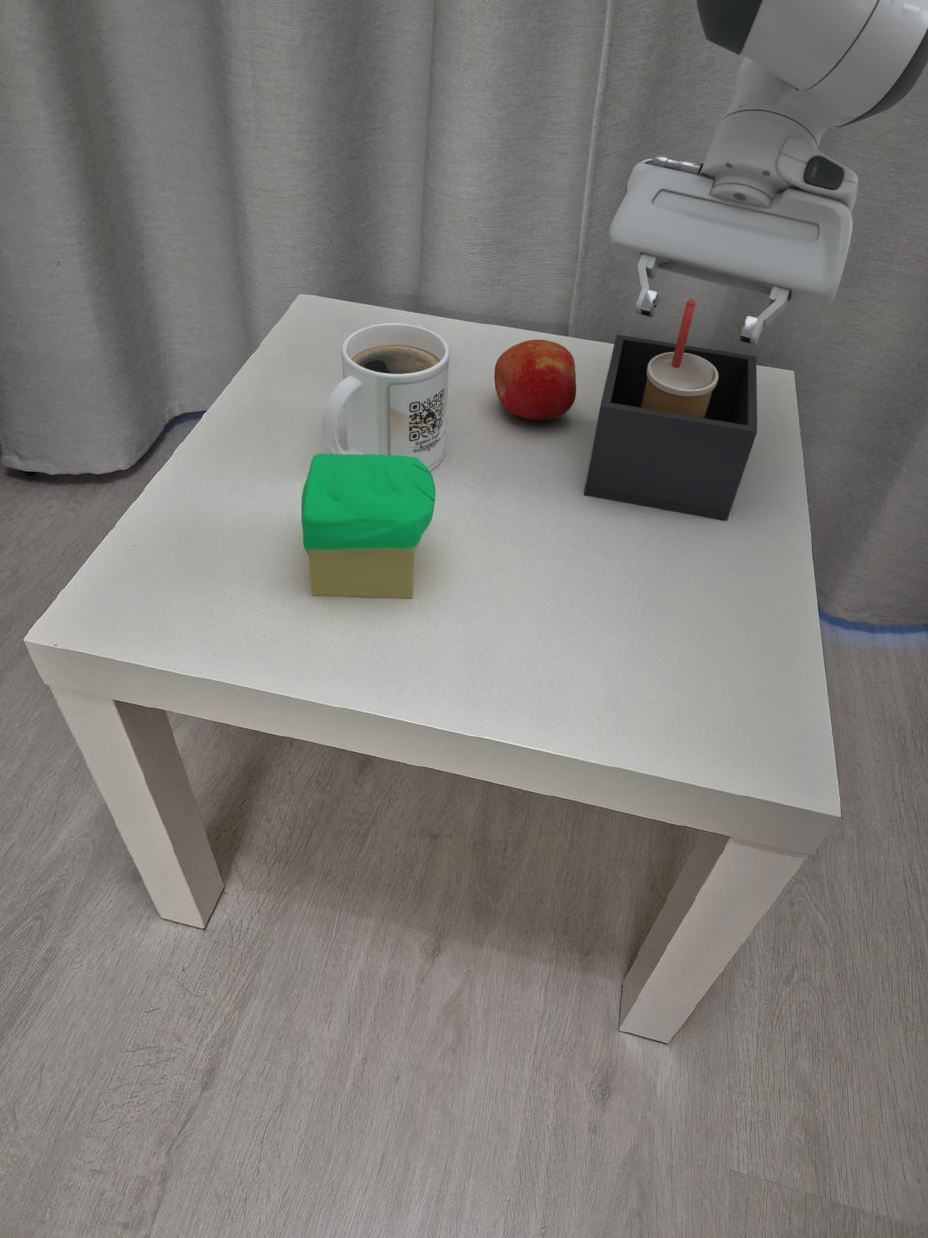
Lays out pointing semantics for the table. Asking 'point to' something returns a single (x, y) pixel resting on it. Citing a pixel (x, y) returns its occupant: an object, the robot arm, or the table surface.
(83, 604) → the table surface
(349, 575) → the cake
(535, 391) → the apple
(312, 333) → the table surface
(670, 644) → the table surface
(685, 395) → the paper cup
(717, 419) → the bin
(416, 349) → the mug
